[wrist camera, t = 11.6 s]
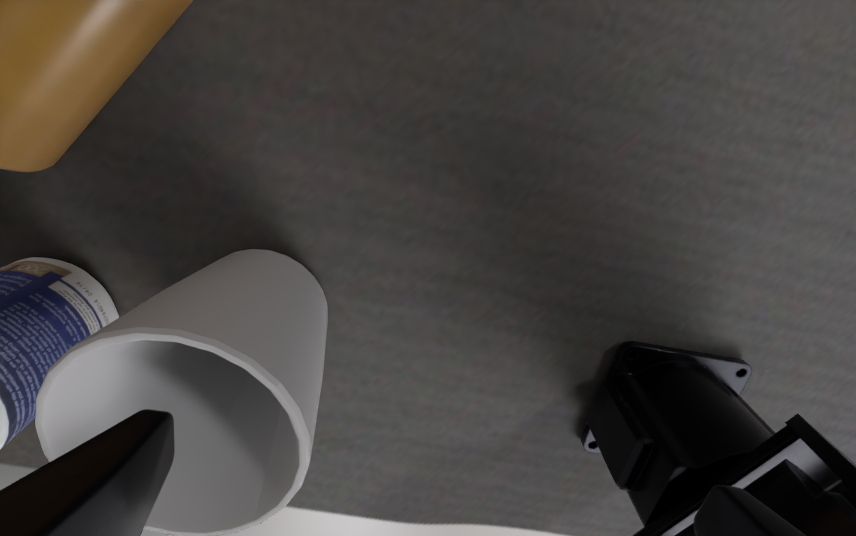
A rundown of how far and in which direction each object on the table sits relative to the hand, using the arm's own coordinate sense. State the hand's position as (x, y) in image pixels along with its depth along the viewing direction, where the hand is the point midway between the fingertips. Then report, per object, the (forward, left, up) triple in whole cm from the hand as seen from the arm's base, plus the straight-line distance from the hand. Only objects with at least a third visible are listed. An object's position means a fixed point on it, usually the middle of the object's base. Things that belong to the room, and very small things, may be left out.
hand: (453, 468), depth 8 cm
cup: (+7, +6, -13) cm, 16 cm away
